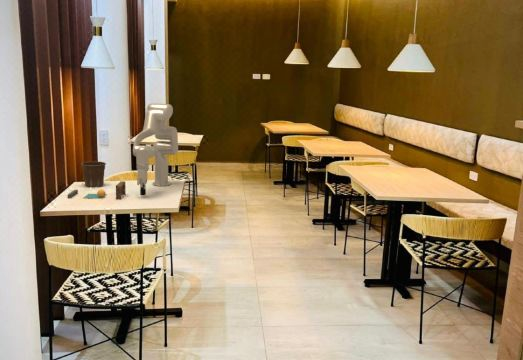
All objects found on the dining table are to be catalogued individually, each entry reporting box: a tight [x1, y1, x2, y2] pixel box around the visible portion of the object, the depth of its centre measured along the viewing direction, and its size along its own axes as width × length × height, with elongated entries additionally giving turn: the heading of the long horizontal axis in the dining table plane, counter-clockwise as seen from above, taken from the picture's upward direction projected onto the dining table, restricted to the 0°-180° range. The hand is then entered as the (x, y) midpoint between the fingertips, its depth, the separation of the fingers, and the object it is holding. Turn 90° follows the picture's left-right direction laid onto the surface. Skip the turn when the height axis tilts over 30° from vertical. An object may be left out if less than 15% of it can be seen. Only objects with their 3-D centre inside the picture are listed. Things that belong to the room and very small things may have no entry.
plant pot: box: [81, 161, 107, 189], centre depth 341 cm, size 16×16×16 cm
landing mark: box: [83, 193, 108, 200], centre depth 313 cm, size 12×12×1 cm
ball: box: [96, 189, 106, 198], centre depth 310 cm, size 5×5×5 cm
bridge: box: [115, 180, 127, 200], centre depth 313 cm, size 3×14×9 cm, turn 3°
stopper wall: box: [67, 189, 79, 199], centre depth 311 cm, size 14×2×2 cm, turn 3°
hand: (143, 195), depth 314 cm, fingers closed
